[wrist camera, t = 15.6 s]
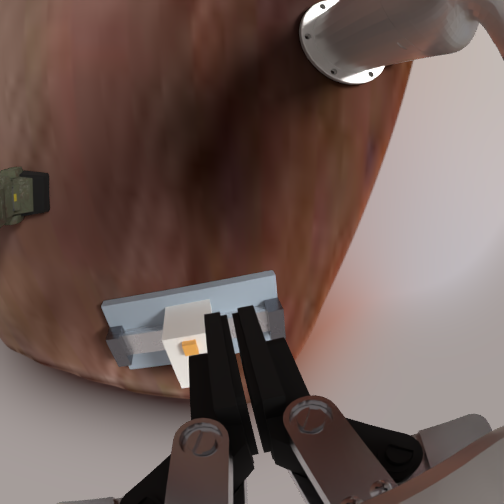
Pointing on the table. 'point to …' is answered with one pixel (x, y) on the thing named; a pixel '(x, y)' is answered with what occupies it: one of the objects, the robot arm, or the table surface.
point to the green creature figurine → (22, 194)
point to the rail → (150, 337)
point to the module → (185, 335)
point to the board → (219, 292)
